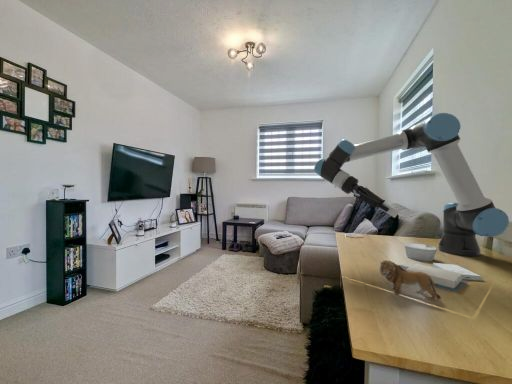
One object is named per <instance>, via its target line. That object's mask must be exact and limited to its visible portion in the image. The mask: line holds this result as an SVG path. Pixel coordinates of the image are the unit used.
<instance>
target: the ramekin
mask: <svg viewBox="0 0 512 384" xmlns="http://www.w3.org/2000/svg"><path fill="white" fill-rule="evenodd" d="M404 249H405V255H406V257H407V258H408V259H411V260H415V261H420V262H433V261H434V260H435V256H436V254H437V253H436V252H437V248H436V247H435V246H432V245H428V244H423V243H414V242H413V243H412V242H409V243H405V244H404Z"/></svg>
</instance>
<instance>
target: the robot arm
mask: <svg viewBox="0 0 512 384" xmlns="http://www.w3.org/2000/svg"><path fill="white" fill-rule="evenodd" d="M460 130H461V122H460V120H459V119H458V118H457V116H455V115H454V114H451V113H448V112H439V113H435V114H434V115H430V116H429V117H427V118H425V119H424V120H422V121H420V122H418V123H417V124H415V125H412V126H409V128H406V129H403V130H399V131H398V133H396V134H392V135H389V136H388V135H387V136H383V137H381V138H375V139H373V140H369V141H365V142H360V143H357V144H353V143H352V142H350V141H349V140H347V139H340V141H339V142H338V143H337V144H336V146H335V147H334V149H333V150H332V151H331V152H330V153H329V155H328V156H327V158H320V159H319V160H318V161H317V162H316V163H315V165H314V169H313V170H314V172H315V173H316V174H317V176H319V177H320V178H322V179H324V180H325V181H327V182H329V183H330V184H331V185H333V186H334V188H338V189H340V190H341V191H342V192H344V193H345V194H347V195H349V194H353V197H354V198H357V199H359V200H361V201H363V202H365V203H366V204H368V205H369V206H372V207H374V208H375V210H379V209H380V210H382V211H383V212H384V213H386V214H387V215H389V216H390V217H392V218H394V219H395V218H396V217H397V216H398V215H399V213H400V211H398V210H397V209H396V208H395V207H392V206H390V205H389V203H388V204H387V202H386V199H383V198H381V197H380V196H379V195H377V194H375V192H372V191H371V190H370V189H369V188H368V187H365V186H364V185H363V186H362V185H359V184H358V183H359V179H358V178H356V177H354V176H353V175H350V174H349V173H348V172H346V171H345V170H342V169H341V168H342V167H343V165H345V163H349V162H354V161H357V160H361V159H365V158H369V157H374V156H378V155H382V154H385V153H389V152H394V151H398V150H402V151H407V150H412V149H418V148H425V149H426V151H427V153H431V154H433V156H434V158H435V161H437V163H438V165H439V167H440V169H441V172H442V174H443V175H444V177H445V179H446V181H447V183H448V186H449V187H450V190H451V192H452V193H453V195H454V197H455V200H456V201H457V202H449V203H446V204H445V205H444V206H443V210H442V212H443V224H442V225H443V228H442V229H443V231H442V237H441V238H440V241H439V242H438V250H439V251H440V252H443V253H447V254H452V255H458V256H467V257H479V256H481V251H482V250H481V248H480V245H479V242H478V240H477V237H476V235H477V236H479V237H487V238H493V237H498V236H500V235H502V234H503V233H504V232H505V231H507V228H508V227H509V224H510V220H509V219H510V218H509V216H508V214H507V213H506V211H504V210H502V209H500V208H496V206H495V204H494V202H493V200H492V199H491V198H489V197H488V198H487V197H485V196H484V194H483V191H482V189H481V187H480V186H479V184H478V182H477V180H476V178H475V175H474V174H473V171H472V169H471V168H470V165H469V164H468V162H467V160H466V158H465V156H464V153H463V152H462V150H461V148H460V146H459V143H460V141H461V137H460V135H459V133H460Z"/></svg>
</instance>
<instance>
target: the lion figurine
mask: <svg viewBox="0 0 512 384" xmlns="http://www.w3.org/2000/svg"><path fill="white" fill-rule="evenodd" d="M399 265H400V264H396V263H395V262H393V261H391V260H383V261H380V266H379V272H380V275H381V276H383V278H386V279H387V282H389V283H392V286H393V287H392V289H393V290H396V291H394V292H393V293H394V295H396V296H400V295H401V287H402V285H404V284H405V285H409V286H412V285H417V284H418V285H419V287H420V290H419V291H418V290H417V291H416V293H417V294H423V293H425V291H426V292H427V293H428V294H430V297H429V299H430V300H433V301H434V300H436V297H437V298H441V295H439V294H438V293H437V292H436V290H437V289H436V287H435V286H434V283H433V280H432V279H431V277H430V276H429V275H427V274H425V273H423V272H409V271H406V270H404V269H403V268H402V267H401V266H399ZM429 281H430V283H431V285H432V286H430V284H429Z"/></svg>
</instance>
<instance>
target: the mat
mask: <svg viewBox="0 0 512 384" xmlns="http://www.w3.org/2000/svg"><path fill="white" fill-rule="evenodd" d="M398 265H399V266H401V267H402V268H403V269H404V270H406V269H407V268H409V267H410V266H406V265H405V266H404V265H401V264H398ZM468 282H469V281H468V280H467V279H462V281H461V282H460V283H459V284H458V285H457V286H456V287H455V288H454V289H450V288H446V287H442V286H439V285H435V284H434V286H435V289H436V288H437V289H441V290H445V291H448V292H452V293H456V294H459V293H460V291H461V290H462V289H463V288H464V287H465V286H466V285H467V283H468ZM429 284H430V287H432V285H431V283H429Z"/></svg>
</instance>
